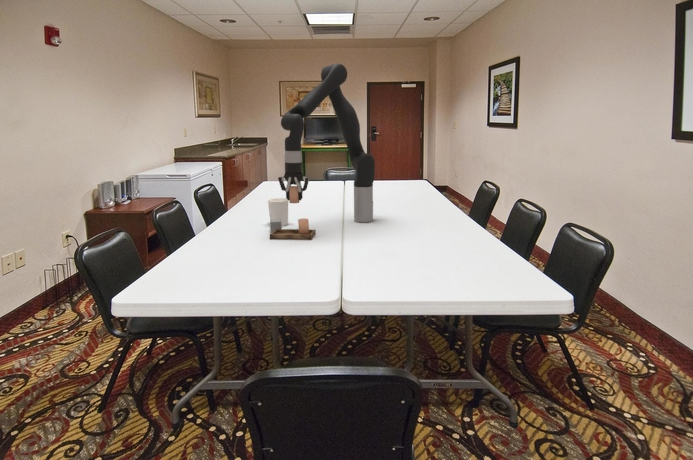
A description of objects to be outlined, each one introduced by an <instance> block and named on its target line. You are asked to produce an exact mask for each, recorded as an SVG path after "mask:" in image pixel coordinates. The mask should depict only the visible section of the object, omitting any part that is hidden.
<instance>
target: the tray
mask: <svg viewBox="0 0 693 460" xmlns="http://www.w3.org/2000/svg"><path fill="white" fill-rule="evenodd" d="M316 234H317V233H316V229H309V235H299V228H298V229H297V228H294V229H293V228H282V229H275V230H274V231H273V232H272V233H271V232H270V234H269V240H291V241H292V240H295V241H296V240H297V241H298V240H299V241H301V240H302V241H303V240H304V241H305V240H306V241H312V240H313V239H314V237H315V235H316Z"/></svg>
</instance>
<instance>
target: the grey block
mask: <svg viewBox="0 0 693 460" xmlns="http://www.w3.org/2000/svg"><path fill="white" fill-rule="evenodd" d="M269 226H270V227H269V229H270V230H269V231H270V234H271V233H272V232H273V231H274V230H275V229H283V228H282V227H283V226H281V219H276V220H270V219H269Z"/></svg>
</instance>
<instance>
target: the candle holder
mask: <svg viewBox="0 0 693 460" xmlns="http://www.w3.org/2000/svg"><path fill="white" fill-rule="evenodd" d="M267 203H268V205H267V206H268V212H269V221H270V220H276V219H281V226H282V227H284V226H287V225H288V224H289V200H288V199H286V197H285V198H284V197H277V198H275V197H274V198H270V199H268V200H267Z"/></svg>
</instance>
